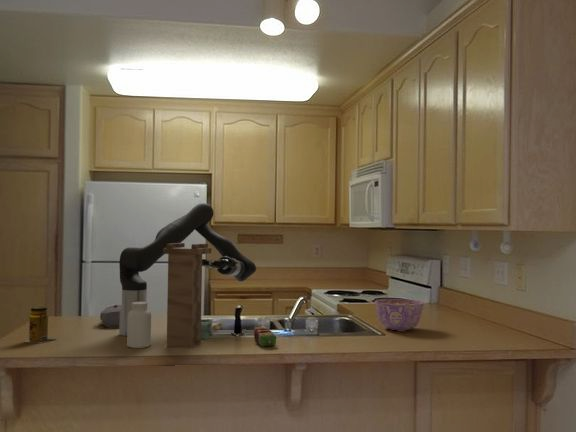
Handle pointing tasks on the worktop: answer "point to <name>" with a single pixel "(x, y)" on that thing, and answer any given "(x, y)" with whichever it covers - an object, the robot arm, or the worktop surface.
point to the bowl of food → (399, 313)
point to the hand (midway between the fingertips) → (211, 261)
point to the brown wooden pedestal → (184, 294)
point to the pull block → (209, 328)
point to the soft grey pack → (111, 316)
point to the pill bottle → (139, 326)
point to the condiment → (38, 325)
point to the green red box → (264, 336)
